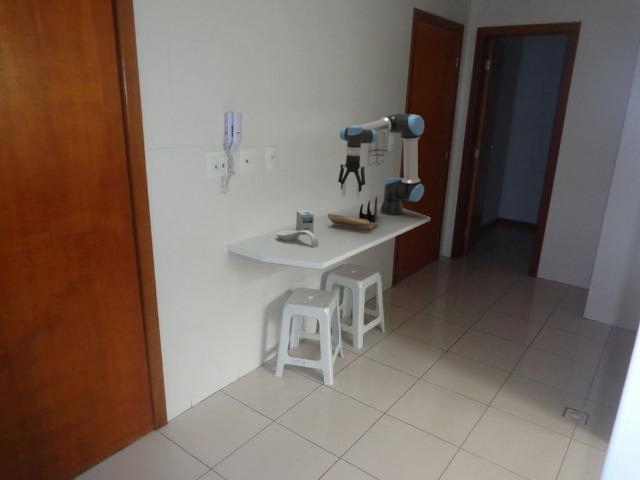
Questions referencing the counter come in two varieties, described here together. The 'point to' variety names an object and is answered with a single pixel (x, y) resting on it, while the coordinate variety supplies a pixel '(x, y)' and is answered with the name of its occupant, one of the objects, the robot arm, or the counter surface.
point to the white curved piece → (296, 236)
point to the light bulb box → (304, 220)
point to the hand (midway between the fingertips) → (350, 196)
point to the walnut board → (374, 225)
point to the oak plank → (350, 221)
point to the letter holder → (369, 213)
